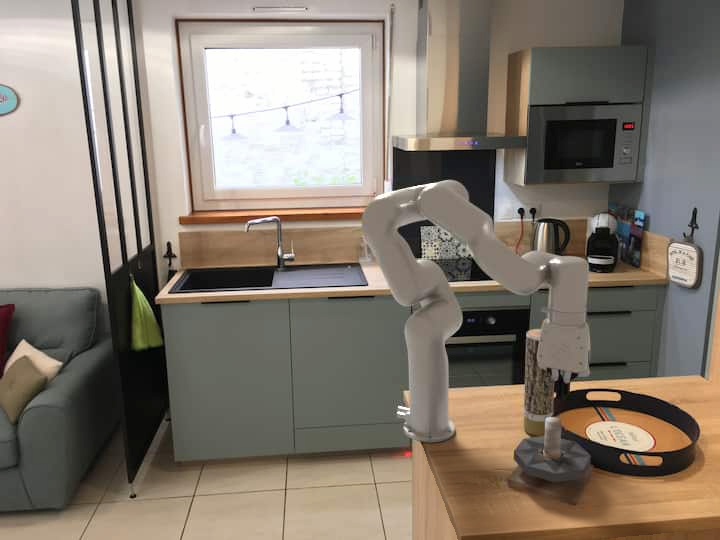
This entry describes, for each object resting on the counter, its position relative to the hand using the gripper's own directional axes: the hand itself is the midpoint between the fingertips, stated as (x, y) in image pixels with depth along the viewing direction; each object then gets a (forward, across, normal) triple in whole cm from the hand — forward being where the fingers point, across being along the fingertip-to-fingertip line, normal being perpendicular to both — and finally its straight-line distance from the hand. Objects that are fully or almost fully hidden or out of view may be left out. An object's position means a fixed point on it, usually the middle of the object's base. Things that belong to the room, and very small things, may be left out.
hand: (561, 396), depth 138 cm
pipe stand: (+16, +1, -6) cm, 17 cm away
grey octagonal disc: (+12, 0, -6) cm, 14 cm away
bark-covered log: (+16, -8, +12) cm, 22 cm away
